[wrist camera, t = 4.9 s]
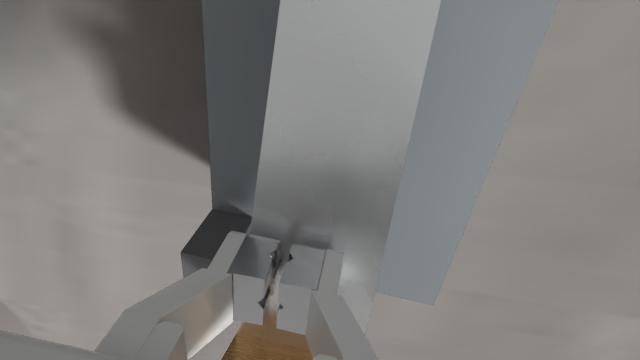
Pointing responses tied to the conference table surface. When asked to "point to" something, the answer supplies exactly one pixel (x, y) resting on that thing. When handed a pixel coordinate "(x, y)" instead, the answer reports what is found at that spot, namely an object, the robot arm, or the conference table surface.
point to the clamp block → (425, 141)
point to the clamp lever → (336, 144)
